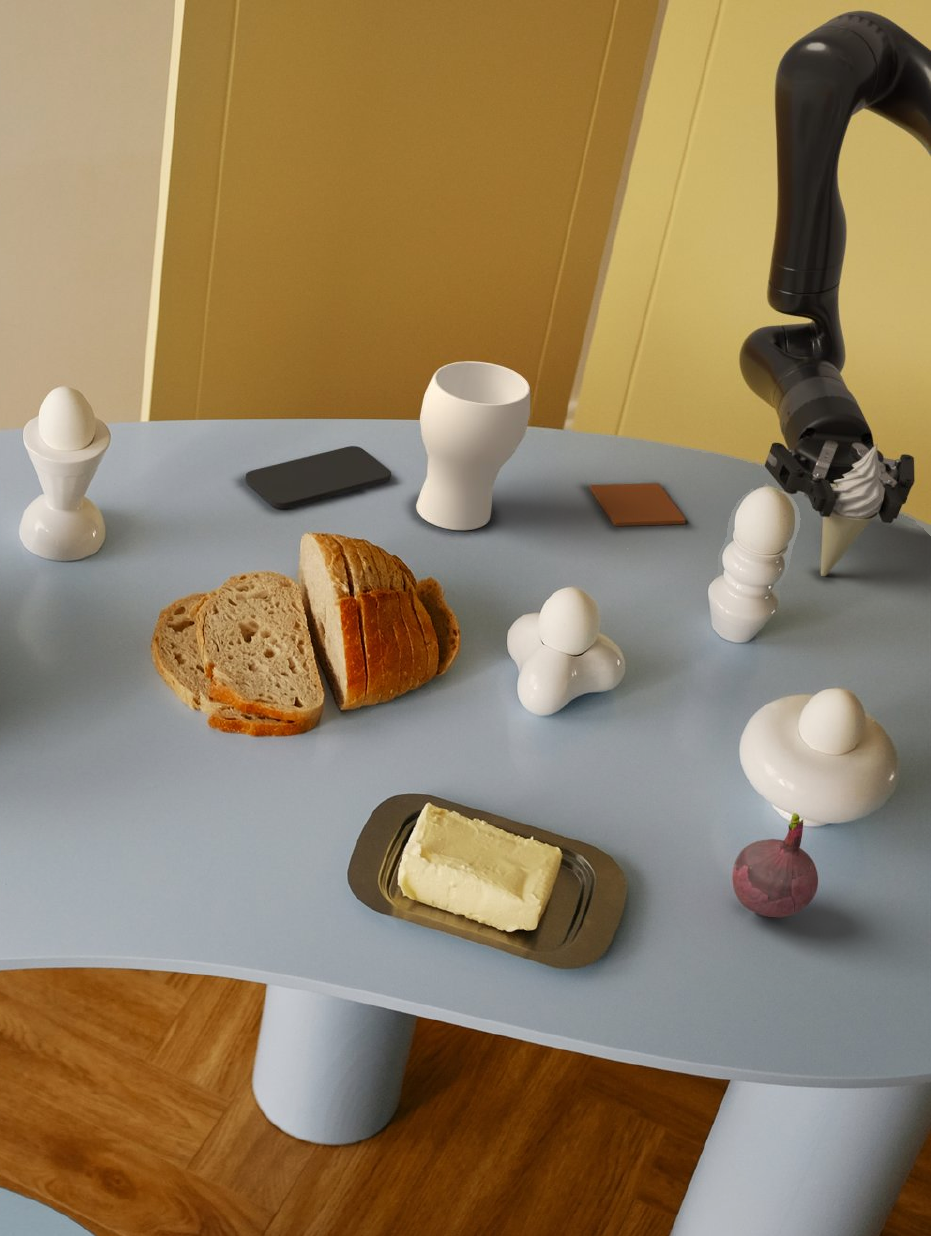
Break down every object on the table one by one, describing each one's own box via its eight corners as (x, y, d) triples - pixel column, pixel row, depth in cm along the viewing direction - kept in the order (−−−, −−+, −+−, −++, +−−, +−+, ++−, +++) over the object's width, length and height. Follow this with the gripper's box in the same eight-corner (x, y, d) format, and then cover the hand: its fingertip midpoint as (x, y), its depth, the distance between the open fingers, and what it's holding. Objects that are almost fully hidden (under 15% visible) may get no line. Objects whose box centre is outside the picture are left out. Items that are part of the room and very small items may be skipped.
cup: (402, 533, 171) (428, 402, 162) (401, 481, 179) (426, 354, 170) (507, 543, 170) (539, 412, 160) (501, 491, 178) (532, 363, 168)
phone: (241, 472, 179) (357, 443, 184) (240, 479, 179) (355, 450, 184) (278, 505, 174) (396, 474, 178) (277, 512, 174) (395, 481, 179)
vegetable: (800, 896, 130) (843, 802, 124) (800, 950, 126) (845, 855, 120) (720, 877, 132) (758, 783, 126) (716, 928, 128) (756, 834, 121)
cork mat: (657, 487, 179) (658, 483, 179) (685, 524, 173) (686, 520, 173) (589, 489, 178) (590, 485, 178) (614, 526, 173) (616, 522, 172)
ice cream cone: (845, 594, 163) (899, 461, 154) (791, 579, 165) (842, 447, 156) (854, 570, 167) (908, 439, 157) (802, 556, 169) (851, 425, 159)
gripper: (762, 388, 170) (794, 470, 157) (909, 400, 168) (954, 485, 155) (740, 452, 174) (770, 537, 161) (883, 465, 173) (924, 552, 160)
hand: (860, 511), depth 158 cm, fingers closed on ice cream cone, 5 cm apart
